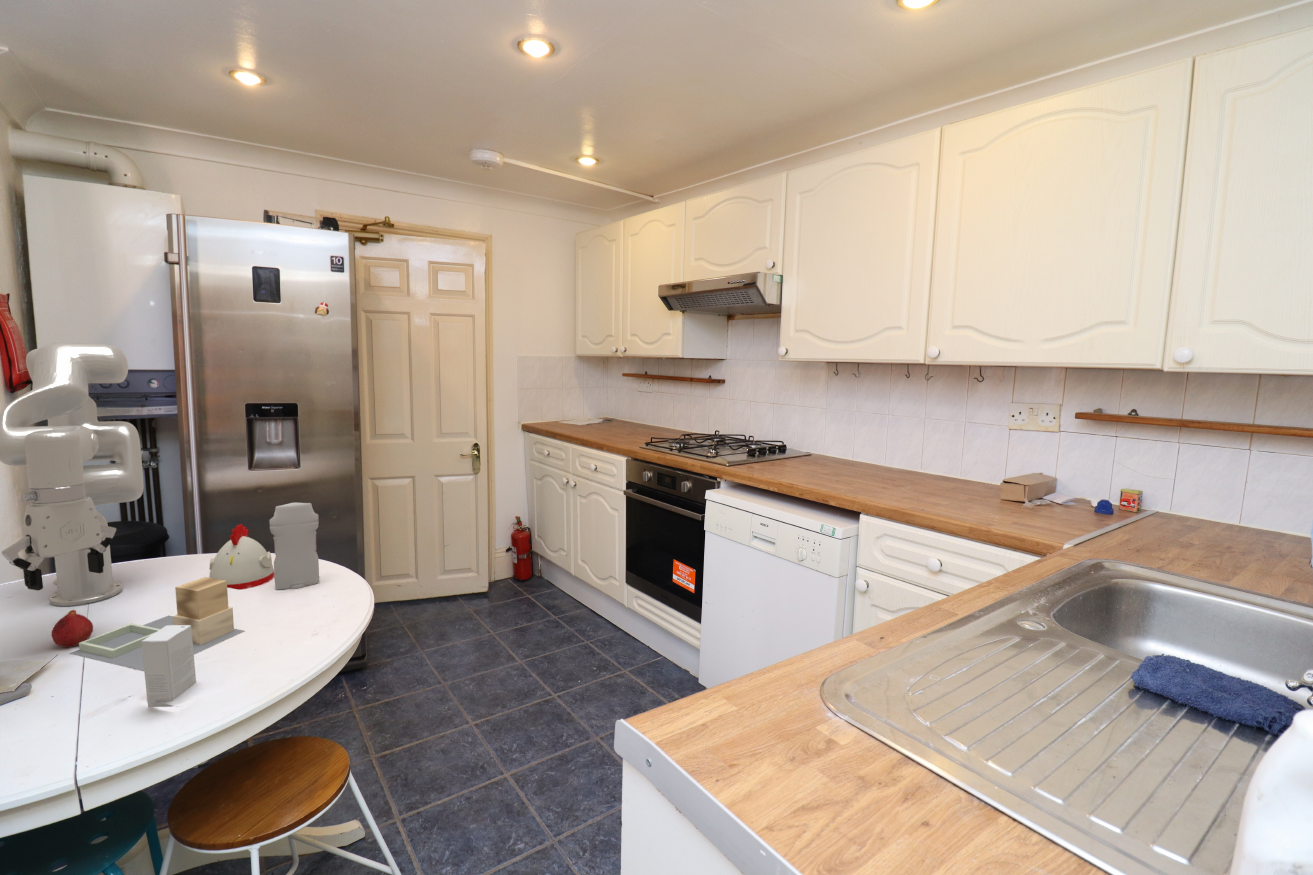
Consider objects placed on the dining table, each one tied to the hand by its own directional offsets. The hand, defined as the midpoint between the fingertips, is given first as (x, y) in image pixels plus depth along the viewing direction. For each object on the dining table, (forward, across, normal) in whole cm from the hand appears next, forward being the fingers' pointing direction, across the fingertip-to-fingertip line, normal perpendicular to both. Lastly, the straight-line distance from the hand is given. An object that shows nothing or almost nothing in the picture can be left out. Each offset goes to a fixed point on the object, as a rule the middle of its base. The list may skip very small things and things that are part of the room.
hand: (66, 580), depth 115 cm
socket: (+13, +3, -8) cm, 16 cm away
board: (+14, +6, -14) cm, 21 cm away
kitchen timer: (+14, +38, +4) cm, 41 cm away
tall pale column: (+14, +40, -12) cm, 45 cm away
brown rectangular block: (+13, +11, -19) cm, 26 cm away
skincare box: (+15, -6, -34) cm, 38 cm away
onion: (+15, 0, +1) cm, 15 cm away
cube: (+8, +11, -20) cm, 24 cm away
